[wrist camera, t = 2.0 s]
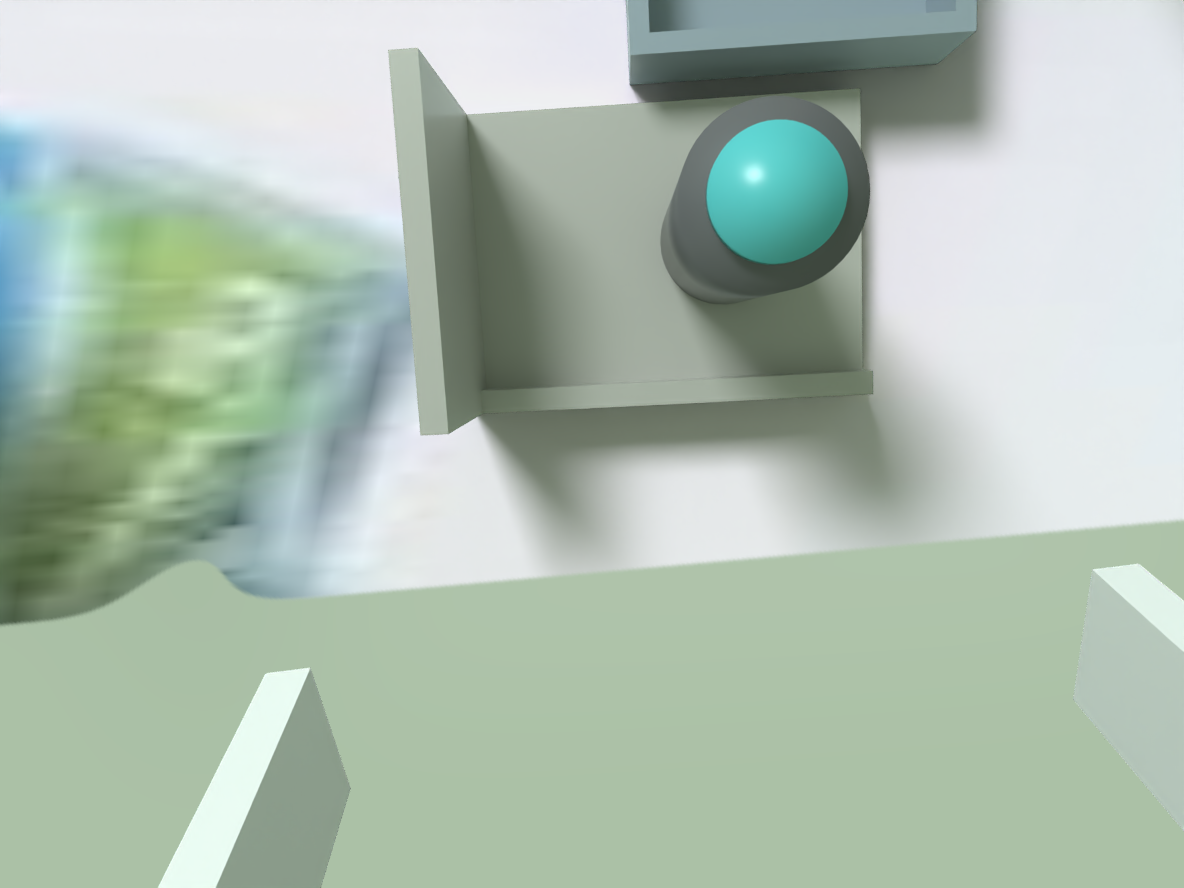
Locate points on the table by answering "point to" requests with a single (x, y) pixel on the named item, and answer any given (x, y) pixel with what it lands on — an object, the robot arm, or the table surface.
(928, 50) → the tray
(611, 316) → the bay
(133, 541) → the table surface
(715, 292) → the bottle
